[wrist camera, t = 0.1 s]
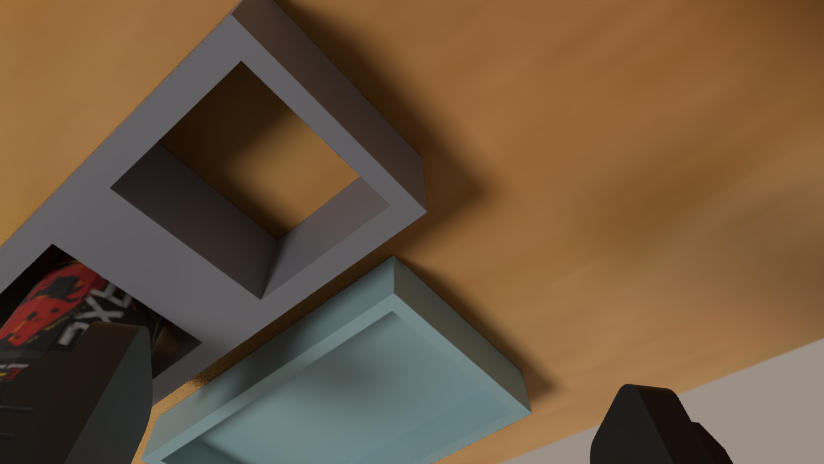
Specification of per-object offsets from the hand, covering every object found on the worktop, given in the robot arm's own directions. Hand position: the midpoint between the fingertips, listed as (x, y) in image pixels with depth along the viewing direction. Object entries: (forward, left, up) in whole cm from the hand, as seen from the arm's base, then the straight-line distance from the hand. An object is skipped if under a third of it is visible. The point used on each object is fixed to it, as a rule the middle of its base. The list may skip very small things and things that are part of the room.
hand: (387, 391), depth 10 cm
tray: (+22, 0, -17) cm, 28 cm away
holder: (+9, -8, -17) cm, 21 cm away
